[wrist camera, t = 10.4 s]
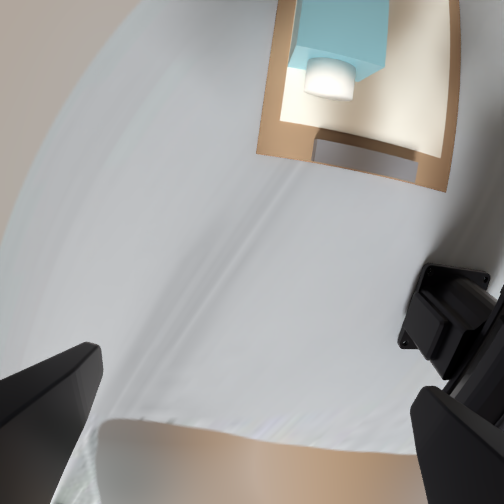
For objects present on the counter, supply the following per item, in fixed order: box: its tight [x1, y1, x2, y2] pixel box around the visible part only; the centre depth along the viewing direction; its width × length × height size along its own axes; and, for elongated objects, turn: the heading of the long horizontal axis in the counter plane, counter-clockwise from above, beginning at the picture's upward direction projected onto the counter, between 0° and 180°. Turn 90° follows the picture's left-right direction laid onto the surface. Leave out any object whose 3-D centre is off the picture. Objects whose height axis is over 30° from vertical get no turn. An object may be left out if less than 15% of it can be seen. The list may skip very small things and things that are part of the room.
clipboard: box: [256, 0, 461, 193], centre depth 14 cm, size 12×15×1 cm
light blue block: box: [287, 0, 389, 101], centre depth 12 cm, size 10×4×4 cm, turn 172°
